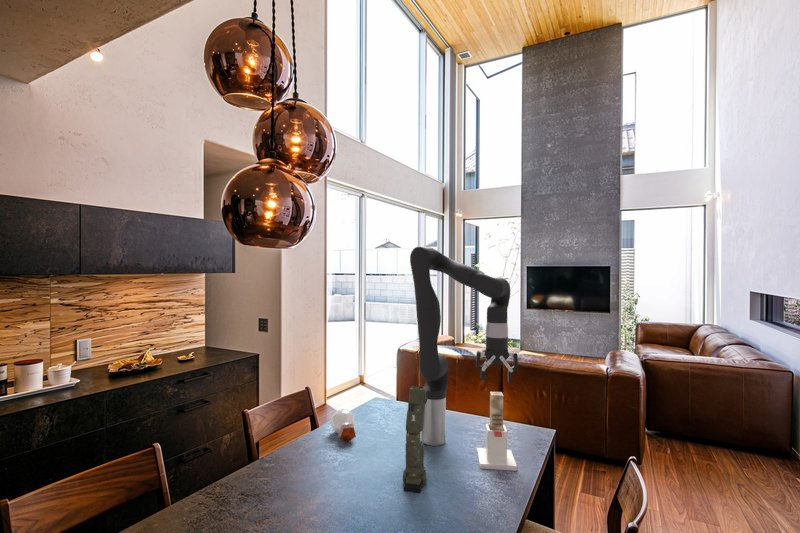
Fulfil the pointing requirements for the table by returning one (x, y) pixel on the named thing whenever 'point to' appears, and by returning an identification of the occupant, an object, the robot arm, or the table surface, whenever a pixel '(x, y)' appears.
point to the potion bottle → (344, 424)
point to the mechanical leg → (415, 441)
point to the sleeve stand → (496, 451)
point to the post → (496, 411)
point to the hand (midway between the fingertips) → (496, 381)
